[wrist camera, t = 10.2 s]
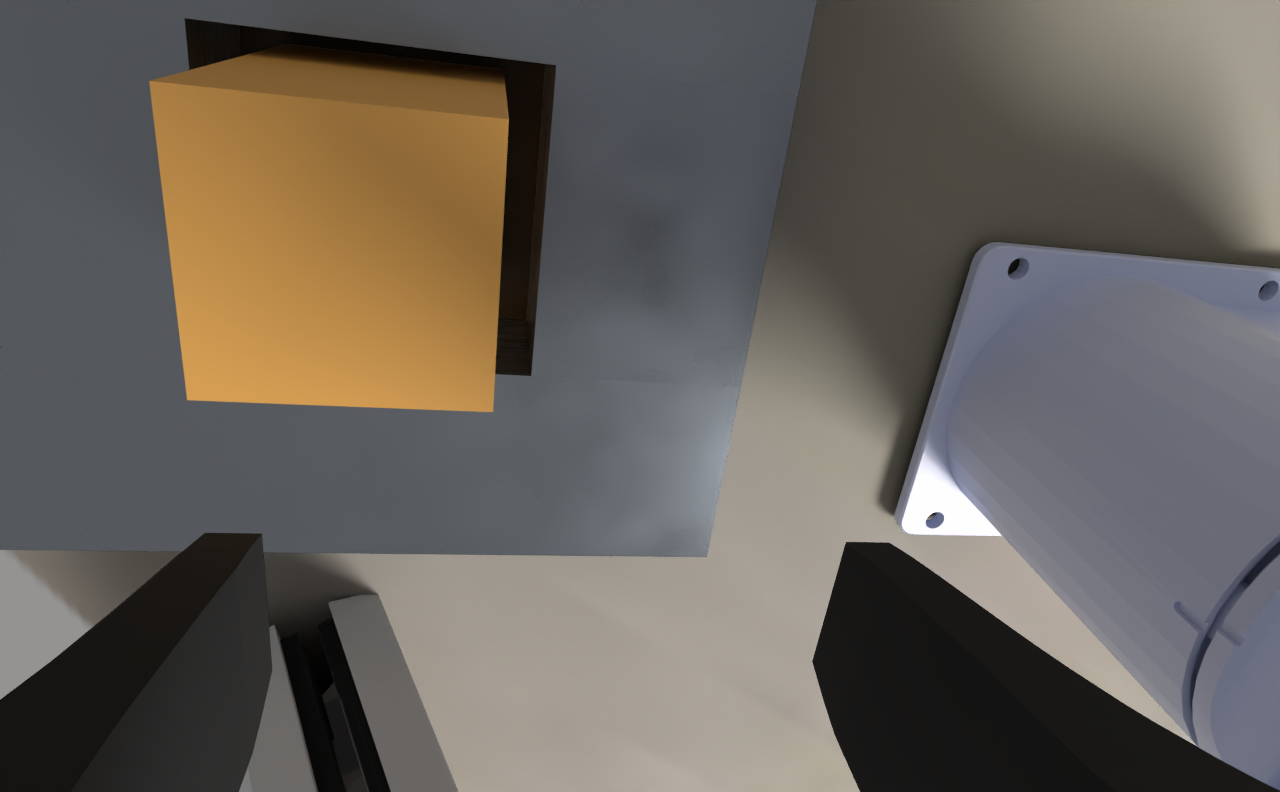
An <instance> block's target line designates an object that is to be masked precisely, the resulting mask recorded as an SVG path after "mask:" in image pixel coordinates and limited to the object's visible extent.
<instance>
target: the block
mask: <svg viewBox="0 0 1280 792" xmlns="http://www.w3.org/2000/svg"><path fill="white" fill-rule="evenodd" d="M149 84H150V92H151V101H152V109H153V117H154V126H155V134H156V143H157V151H158V159H159V168H160V176H161V185H162V193H163V201H164V210H165V218H166V227H167V235H168V243H169V252H170V260H171V269H172V277H173V285H174V294H175V302H176V310H177V319H178V327H179V336H180V344H181V352H182V361H183V369H184V378H185V386H186V394H187V400H195V401H220V402H246V403H271V404H297V405H322V406H348V407H373V408H399V409H424V410H450V411H475V412H493V404H494V386H495V367H496V349H497V331H498V312H499V294H500V275H501V257H502V239H503V220H504V202H505V183H506V165H507V147H508V128H509V115H508V106H507V97H506V87H505V78H504V69H497V68H488V67H480V66H471V65H463V64H455V63H446V62H438V61H429V60H421V59H412V58H404V57H395V56H387V55H378V54H370V53H362V52H353V51H345V50H336V49H328V48H319V47H311V46H302V45H294V44H284V45H281V46H277V47H273V48H269V49H266V50H262V51H258V52H255V53H251V54H247V55H244V56H240V57H236V58H232V59H229V60H225V61H221V62H218V63H214V64H210V65H207V66H203V67H199V68H195V69H192V70H188V71H184V72H181V73H177V74H173V75H169V76H166V77H162V78H158V79H155V80H151V81H149Z"/></svg>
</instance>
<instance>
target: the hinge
mask: <svg viewBox="0 0 1280 792" xmlns="http://www.w3.org/2000/svg"><path fill="white" fill-rule="evenodd" d="M328 604H329V607H330V610H331V613H332V616H333V618H331V619H329V620H327V621H325V622H322V623H320V624H318V625H317V628H318V632H319V635H320V638H321V641H322V645H323V648H324V651H325V654H326V658H327V661H328V664H329V667H330V671H331V674H332V677H333V681H334V682H333V684H332V685H331V686H330V687H329V689H328V690H327V691H326V692H325V693H324V694H323V695H321V691H320V688H319V684H318V681H317V679H316V676H315V674H314V671H313V669H312V666H311V664H310V662H309V659H308V657H307V654H306V652H305V650H304V647H303V645H302V642H301V640H300V638H299V635H298V633H296V634H294V635H291V636H289V637H286V638H284V639H282V640H281V639H280V637H279V635H278V632H277V630H276V628H275V626H274V625H273V626H271V627H269V631H270V644H271V657H272V674H271V678H270V683H269V687H268V692H267V696H266V700H265V705H264V709H263V713H262V718H261V722H260V726H259V730H258V734H257V738H256V742H255V746H254V750H253V754H252V757H251V759H250V762H249V765H248V768H247V771H246V773H245V776H244V779H243V782H242V784H241V787H240V790H239V792H458V789H457V787H456V784H455V782H454V780H453V777H452V775H451V772H450V770H449V767H448V765H447V762H446V760H445V757H444V755H443V752H442V750H441V748H440V745H439V743H438V740H437V738H436V735H435V733H434V730H433V728H432V725H431V723H430V720H429V718H428V716H427V713H426V711H425V708H424V706H423V703H422V701H421V698H420V696H419V693H418V691H417V688H416V686H415V684H414V681H413V679H412V676H411V674H410V671H409V669H408V666H407V664H406V661H405V659H404V656H403V654H402V652H401V649H400V647H399V644H398V642H397V639H396V637H395V634H394V632H393V629H392V627H391V624H390V622H389V620H388V617H387V615H386V612H385V610H384V607H383V605H382V602H381V600H380V597H379V595H357V596H353V597H349V598H344V599H340V600H336V601H331V602H329V603H328Z"/></svg>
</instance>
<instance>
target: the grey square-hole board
mask: <svg viewBox="0 0 1280 792" xmlns="http://www.w3.org/2000/svg"><path fill="white" fill-rule="evenodd" d="M816 3H817V0H0V550H83V551H179V552H182V551H183V550H185V549H186V548H187V547H188V546H190V545H191V544H192V543H193V542H194V541H196V540H197V539H198V538H199V537H200V536H202V535H203V534H204V533H260V534H262V539H263V552H274V553H369V554H464V555H560V556H655V557H707V553H708V548H709V543H710V538H711V532H712V527H713V522H714V517H715V512H716V507H717V502H718V497H719V492H720V487H721V482H722V477H723V472H724V467H725V462H726V457H727V452H728V447H729V442H730V437H731V432H732V426H733V421H734V416H735V411H736V406H737V401H738V396H739V391H740V386H741V381H742V376H743V371H744V366H745V361H746V356H747V351H748V346H749V341H750V336H751V331H752V326H753V321H754V315H755V310H756V305H757V300H758V295H759V290H760V285H761V280H762V275H763V270H764V265H765V260H766V255H767V250H768V245H769V240H770V235H771V230H772V225H773V220H774V215H775V209H776V204H777V199H778V194H779V189H780V184H781V179H782V174H783V169H784V164H785V159H786V154H787V149H788V144H789V139H790V134H791V129H792V124H793V119H794V114H795V109H796V103H797V98H798V93H799V88H800V83H801V78H802V73H803V68H804V63H805V58H806V53H807V48H808V43H809V38H810V33H811V28H812V23H813V18H814V13H815V8H816ZM240 25H242V26H250V27H258V28H266V29H274V30H282V31H290V32H298V33H305V34H313V35H321V36H329V37H337V38H345V39H353V40H361V41H369V42H377V43H384V44H392V45H400V46H408V47H416V48H424V49H432V50H440V51H448V52H456V53H464V54H471V55H479V56H487V57H495V58H503V59H511V60H519V61H527V62H535V63H543V64H545V74H544V88H543V101H542V114H541V127H540V141H539V154H538V167H537V181H536V194H535V207H534V220H533V234H532V247H531V260H530V273H529V287H528V300H527V313H526V321H525V320H510V319H498V331H497V349H496V367H495V386H494V404H493V412H475V411H450V410H424V409H399V408H373V407H348V406H322V405H297V404H271V403H246V402H220V401H195V400H187V394H186V386H185V378H184V369H183V361H182V352H181V344H180V336H179V327H178V319H177V310H176V302H175V294H174V285H173V277H172V269H171V260H170V252H169V243H168V235H167V227H166V218H165V210H164V201H163V193H162V185H161V176H160V168H159V159H158V151H157V143H156V134H155V126H154V117H153V109H152V101H151V92H150V84H149V81H151V80H155V79H158V78H162V77H166V76H169V75H173V74H177V73H181V72H184V71H188V70H192V69H195V68H199V67H203V66H207V65H210V64H214V63H218V62H221V61H225V60H229V59H232V58H236V57H240V56H242V52H241V37H240Z"/></svg>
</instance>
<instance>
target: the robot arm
mask: <svg viewBox="0 0 1280 792" xmlns="http://www.w3.org/2000/svg"><path fill="white" fill-rule="evenodd" d="M1018 258H1019V259H1020V261H1019V266H1018V268H1017V269H1016V270H1015V271H1014V272H1013V273H1011V274H1008V267H1009V266H1010V264H1011V262H1013V261H1014V260H1015V259H1018ZM1264 284H1265V286H1264V288H1263V289H1262V291H1261V292H1259V290H1260V289H1261V287H1262V286H1263V285H1264ZM935 512H937V513H936V515H935V516H934V517H933V518H932V519H930V520H926V519H927V518H928V516H929V515H931V514H932V513H935ZM895 521H896V523H897V524H898V526H899V527H900V528H901V530H902V531H904V532H905V533H907V534H912V535H968V536H1003V537H1004V538H1005V539H1006V540H1007V541H1008V543H1009V544H1010V545H1011V546H1012V547H1013V548H1014V549H1015V550H1016V551H1017V552H1018V553H1019V554H1020V555H1021V557H1022V558H1023V559H1024V560H1025V561H1026V562H1027V563H1028V564H1029V565H1030V566H1031V567H1032V568H1033V569H1034V571H1035V572H1036V573H1037V574H1038V575H1039V576H1040V577H1041V578H1042V579H1043V580H1044V581H1045V582H1046V584H1047V585H1048V586H1049V587H1050V588H1051V589H1052V590H1053V591H1054V592H1055V593H1056V594H1057V595H1058V596H1059V598H1060V599H1061V600H1062V601H1063V602H1064V603H1065V604H1066V605H1067V606H1068V607H1069V608H1070V609H1071V610H1072V612H1073V613H1074V614H1075V615H1076V616H1077V617H1078V618H1079V619H1080V620H1081V621H1082V622H1083V623H1084V624H1085V626H1086V627H1087V628H1088V629H1089V630H1090V631H1091V632H1092V633H1093V634H1094V635H1095V636H1096V637H1097V638H1098V640H1099V641H1100V642H1101V643H1102V644H1103V645H1104V646H1105V647H1106V648H1107V649H1108V650H1109V651H1110V652H1111V654H1112V655H1113V656H1114V657H1115V658H1116V659H1117V660H1118V661H1119V662H1120V663H1121V664H1122V665H1123V666H1124V668H1125V669H1126V670H1127V671H1128V672H1129V673H1130V674H1131V675H1132V676H1133V677H1134V678H1135V679H1136V680H1137V682H1138V683H1139V684H1140V685H1141V686H1142V687H1143V688H1144V689H1145V690H1146V691H1147V692H1148V693H1149V695H1150V696H1151V697H1152V698H1153V699H1154V700H1155V701H1156V702H1157V703H1158V704H1159V705H1160V706H1161V707H1162V709H1163V710H1164V711H1165V712H1166V713H1167V714H1168V715H1169V716H1170V717H1171V718H1172V719H1173V720H1174V721H1175V723H1176V724H1177V725H1178V726H1179V727H1180V728H1181V729H1182V730H1183V731H1184V732H1185V733H1186V734H1187V735H1188V737H1189V738H1190V739H1191V740H1192V741H1193V742H1194V743H1195V744H1196V745H1197V746H1198V747H1197V746H1195V745H1193V744H1192V743H1190V742H1188V741H1186V740H1185V739H1183V738H1181V737H1179V736H1178V735H1176V734H1174V733H1172V732H1171V731H1169V730H1167V729H1165V728H1164V727H1162V726H1160V725H1158V724H1157V723H1155V722H1153V721H1151V720H1150V719H1148V718H1146V717H1145V716H1143V715H1142V714H1140V713H1138V712H1137V711H1135V710H1133V709H1132V708H1130V707H1128V706H1127V705H1125V704H1124V703H1122V702H1120V701H1119V700H1117V699H1116V698H1114V697H1113V696H1111V695H1110V694H1108V693H1106V692H1105V691H1103V690H1102V689H1100V688H1099V687H1097V686H1096V685H1094V684H1093V683H1091V682H1090V681H1088V680H1086V679H1085V678H1083V677H1082V676H1080V675H1079V674H1077V673H1076V672H1074V671H1073V670H1071V669H1069V668H1068V667H1067V666H1065V665H1064V664H1062V663H1061V662H1059V661H1058V660H1056V659H1055V658H1053V657H1052V656H1050V655H1049V654H1047V653H1046V652H1045V651H1043V650H1042V649H1040V648H1039V647H1037V646H1036V645H1034V644H1033V643H1032V642H1030V641H1029V640H1027V639H1026V638H1024V637H1023V636H1022V635H1020V634H1019V633H1017V632H1016V631H1015V630H1013V629H1012V628H1010V627H1009V626H1008V625H1006V624H1005V623H1003V622H1002V621H1000V620H999V619H998V618H996V617H995V616H994V615H992V614H991V613H989V612H988V611H987V610H985V609H984V608H982V607H981V606H980V605H978V604H977V603H976V602H974V601H973V600H971V599H970V598H969V597H967V596H966V595H965V594H963V593H962V592H960V591H959V590H958V589H956V588H955V587H954V586H952V585H951V584H949V583H948V582H947V581H945V580H944V579H942V578H941V577H940V576H938V575H937V574H935V573H934V572H933V571H931V570H930V569H928V568H927V567H925V566H924V565H923V564H921V563H920V562H918V561H917V560H915V559H914V558H912V557H911V556H909V555H908V554H906V553H905V552H903V551H902V550H900V549H898V548H897V547H895V546H893V545H892V544H890V543H874V542H846V544H845V548H844V551H843V555H842V558H841V562H840V565H839V569H838V573H837V576H836V580H835V583H834V587H833V590H832V594H831V597H830V601H829V604H828V608H827V612H826V615H825V619H824V622H823V626H822V629H821V633H820V636H819V640H818V644H817V647H816V651H815V654H814V658H813V661H812V662H813V665H814V669H815V672H816V676H817V679H818V682H819V686H820V689H821V693H822V696H823V700H824V703H825V706H826V709H827V712H828V715H829V718H830V722H831V725H832V728H833V731H834V734H835V736H836V738H837V741H838V743H839V745H840V748H841V750H842V752H843V754H844V757H845V759H846V761H847V763H848V766H849V768H850V770H851V772H852V774H853V777H854V779H855V781H856V783H857V786H858V788H859V790H860V792H1280V269H1278V268H1268V267H1257V266H1246V265H1236V264H1225V263H1215V262H1204V261H1193V260H1183V259H1172V258H1162V257H1151V256H1141V255H1130V254H1119V253H1109V252H1098V251H1088V250H1077V249H1067V248H1056V247H1045V246H1035V245H1024V244H1014V243H1003V242H993V243H989V244H987V245H985V246H983V247H982V248H981V249H980V250H979V251H978V252H977V253H976V254H975V256H974V258H973V260H972V263H971V266H970V270H969V273H968V276H967V279H966V283H965V286H964V289H963V292H962V296H961V299H960V302H959V305H958V309H957V312H956V315H955V318H954V322H953V325H952V328H951V332H950V335H949V338H948V341H947V345H946V348H945V351H944V354H943V358H942V361H941V364H940V367H939V371H938V374H937V377H936V381H935V384H934V387H933V390H932V394H931V397H930V400H929V403H928V407H927V410H926V413H925V416H924V420H923V423H922V426H921V429H920V433H919V436H918V439H917V443H916V446H915V449H914V452H913V456H912V459H911V462H910V465H909V469H908V472H907V475H906V478H905V482H904V485H903V488H902V491H901V495H900V498H899V501H898V505H897V508H896V511H895ZM271 674H272V657H271V644H270V631H269V618H268V605H267V592H266V578H265V565H264V552H263V539H262V534H260V533H204V534H203V535H202V536H200V537H199V538H198V539H197V540H196V541H194V542H193V543H192V544H191V545H190V546H188V547H187V548H186V549H185V550H183V551H182V552H181V553H180V554H179V555H177V556H176V557H175V558H174V559H173V560H172V561H170V562H169V563H168V564H167V565H166V566H165V567H163V568H162V569H161V570H160V571H159V572H158V573H156V574H155V575H154V576H153V577H152V578H151V579H149V580H148V581H147V582H146V583H145V584H144V585H142V586H141V587H140V588H139V589H138V590H137V591H135V592H134V593H133V594H132V595H131V596H130V597H128V598H127V599H126V600H125V601H124V602H123V603H121V604H120V605H119V606H118V607H117V608H116V609H114V610H113V611H112V612H111V613H110V614H108V615H107V616H106V617H105V618H103V619H102V620H101V621H100V622H99V623H97V624H96V625H95V626H94V627H93V628H91V629H90V630H89V631H88V632H86V633H85V634H84V635H83V636H82V637H80V638H79V639H78V640H77V641H75V642H74V643H73V644H72V645H71V646H69V647H68V648H67V649H66V650H65V651H63V652H62V653H61V654H60V655H58V656H57V657H56V658H55V659H53V660H52V661H51V662H50V663H48V664H47V665H46V666H44V667H43V668H42V669H40V670H39V671H38V672H37V673H35V674H34V675H33V676H31V677H30V678H28V679H27V680H26V681H25V682H23V683H22V684H21V685H19V686H18V687H17V688H16V689H14V690H13V691H11V692H10V693H9V694H7V695H6V696H5V697H3V698H2V699H1V700H0V792H239V790H240V787H241V784H242V782H243V779H244V776H245V773H246V771H247V768H248V765H249V762H250V759H251V757H252V754H253V750H254V746H255V742H256V738H257V734H258V730H259V726H260V722H261V718H262V713H263V709H264V705H265V700H266V696H267V692H268V687H269V683H270V678H271Z"/></svg>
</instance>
